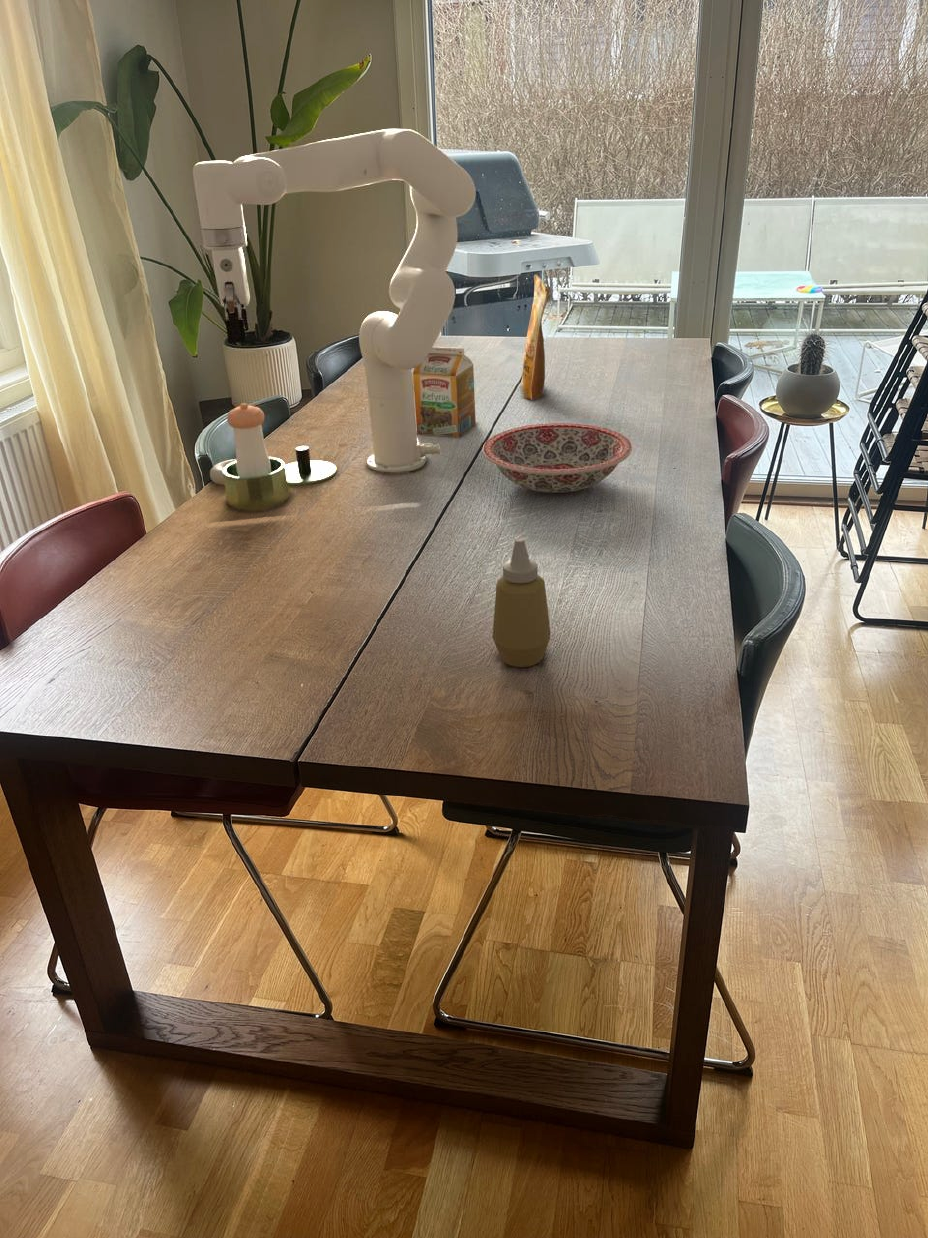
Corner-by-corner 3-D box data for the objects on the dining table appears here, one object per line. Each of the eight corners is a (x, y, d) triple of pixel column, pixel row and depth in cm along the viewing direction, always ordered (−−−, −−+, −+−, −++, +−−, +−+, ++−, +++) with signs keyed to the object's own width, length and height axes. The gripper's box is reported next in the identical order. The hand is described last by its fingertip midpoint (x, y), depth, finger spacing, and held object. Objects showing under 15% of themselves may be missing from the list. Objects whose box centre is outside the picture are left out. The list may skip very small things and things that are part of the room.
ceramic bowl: (647, 467, 196) (649, 430, 192) (604, 521, 173) (605, 479, 169) (516, 453, 207) (515, 417, 203) (459, 501, 185) (457, 462, 181)
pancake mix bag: (547, 381, 257) (546, 272, 243) (549, 401, 240) (549, 285, 227) (522, 381, 257) (520, 273, 244) (522, 402, 241) (521, 286, 227)
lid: (335, 463, 207) (332, 435, 204) (338, 484, 196) (334, 455, 193) (274, 468, 206) (270, 441, 203) (274, 490, 194) (270, 461, 191)
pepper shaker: (259, 507, 185) (244, 411, 176) (232, 501, 189) (215, 406, 180) (284, 494, 191) (270, 400, 181) (257, 489, 194) (242, 396, 185)
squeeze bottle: (490, 645, 137) (485, 529, 128) (545, 640, 137) (545, 525, 128) (496, 675, 129) (492, 555, 121) (555, 670, 130) (555, 550, 121)
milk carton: (417, 433, 222) (411, 351, 213) (435, 420, 231) (430, 340, 222) (458, 437, 219) (454, 353, 209) (475, 423, 227) (472, 342, 218)
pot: (289, 486, 196) (284, 454, 193) (289, 508, 186) (284, 474, 182) (229, 492, 195) (224, 460, 191) (226, 514, 184) (220, 480, 181)
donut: (203, 488, 198) (248, 489, 195) (200, 472, 196) (245, 473, 194) (223, 471, 206) (266, 472, 204) (220, 456, 204) (263, 456, 202)
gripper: (243, 243, 162) (257, 345, 170) (248, 231, 177) (260, 325, 185) (198, 245, 161) (215, 348, 169) (207, 233, 176) (221, 328, 184)
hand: (239, 336), depth 177 cm, fingers open, 9 cm apart
